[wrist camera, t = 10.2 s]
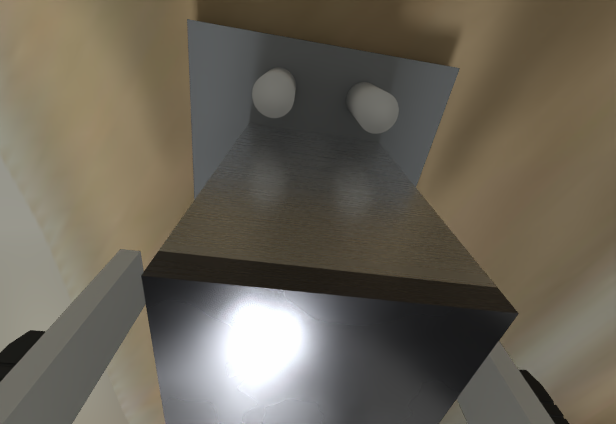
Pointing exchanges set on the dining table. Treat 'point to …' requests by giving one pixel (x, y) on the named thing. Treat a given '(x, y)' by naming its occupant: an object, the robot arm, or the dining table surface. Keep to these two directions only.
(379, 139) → the pin tray
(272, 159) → the block
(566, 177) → the dining table surface
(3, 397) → the robot arm
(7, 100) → the dining table surface
